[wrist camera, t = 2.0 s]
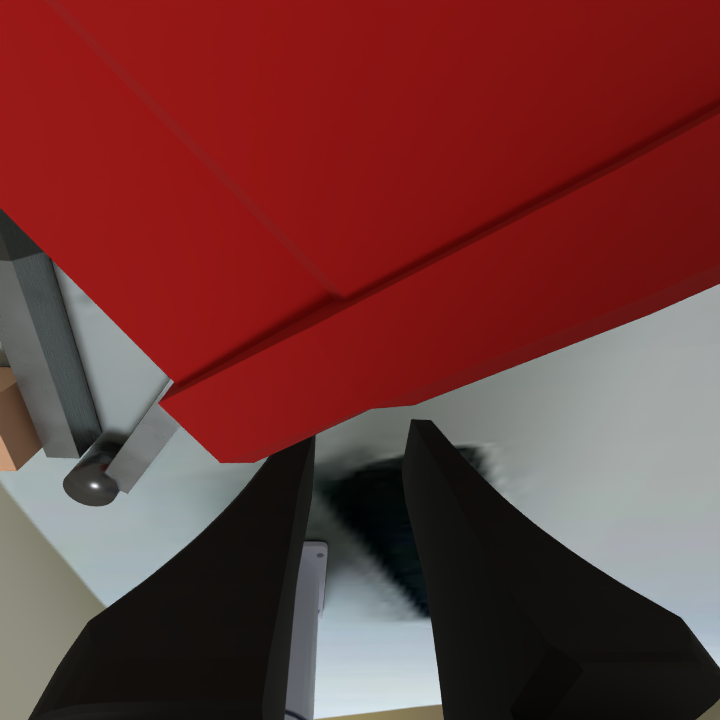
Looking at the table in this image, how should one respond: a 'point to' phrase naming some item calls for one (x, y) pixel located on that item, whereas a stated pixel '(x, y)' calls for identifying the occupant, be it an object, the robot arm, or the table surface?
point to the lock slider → (15, 425)
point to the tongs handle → (43, 347)
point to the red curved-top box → (360, 187)
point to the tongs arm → (121, 459)
